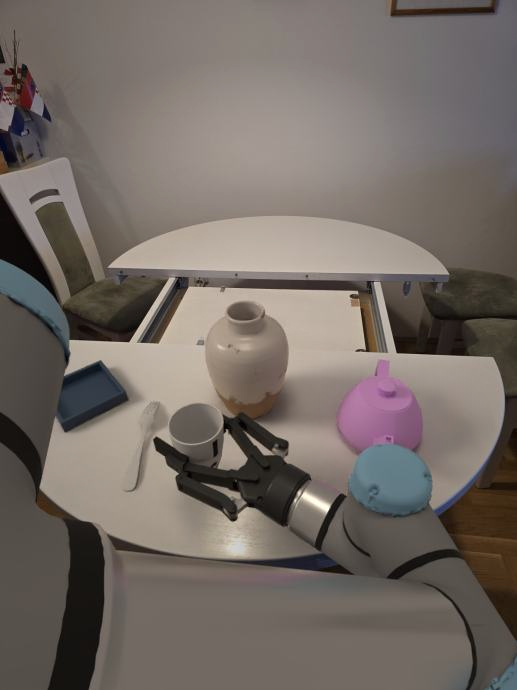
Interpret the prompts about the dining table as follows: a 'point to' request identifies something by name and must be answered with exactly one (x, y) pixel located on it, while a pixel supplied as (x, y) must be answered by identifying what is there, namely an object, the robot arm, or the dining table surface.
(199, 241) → the dining table surface
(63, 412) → the tray
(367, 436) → the teapot
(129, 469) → the fork
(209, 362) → the vase
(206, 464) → the cup
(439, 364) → the dining table surface
